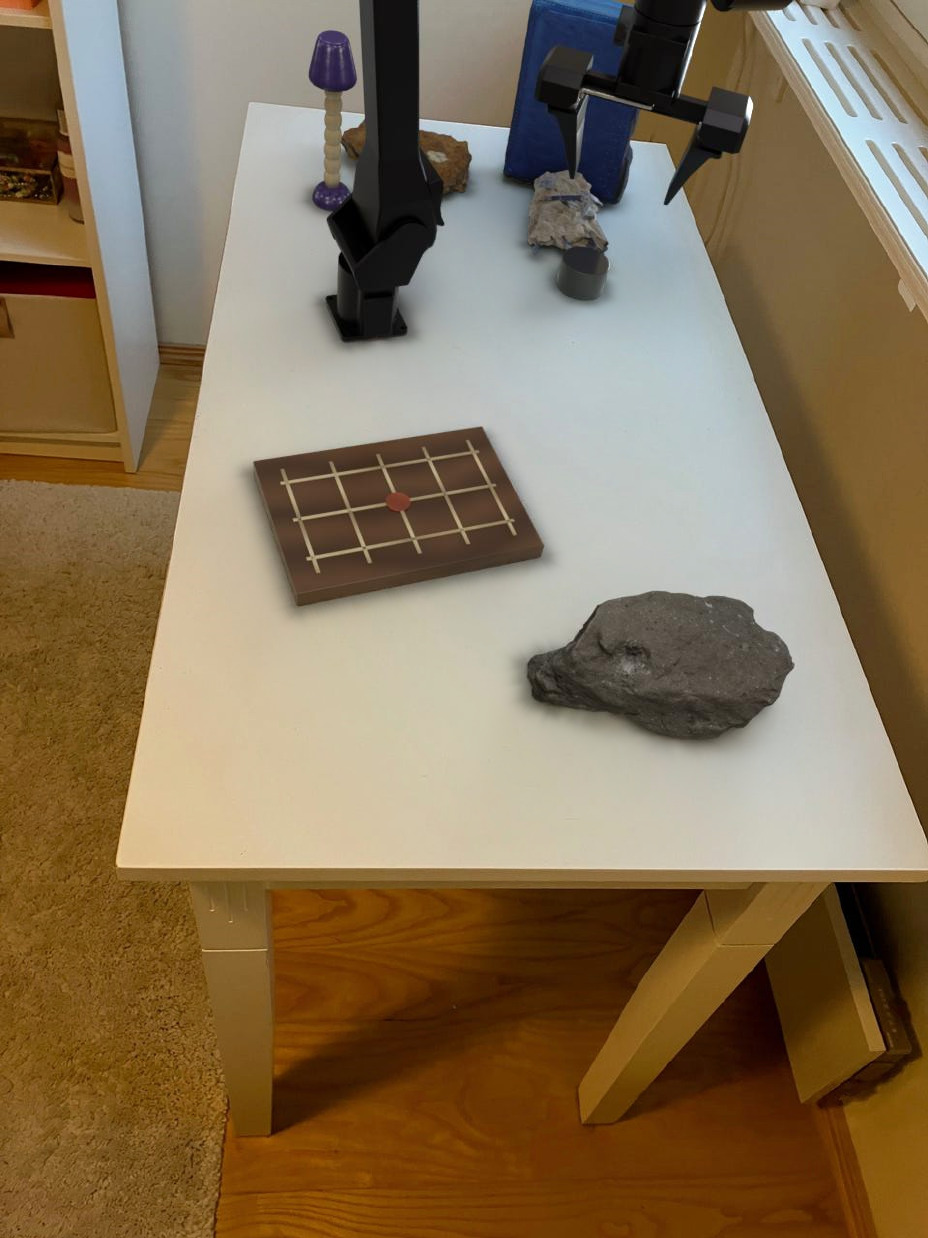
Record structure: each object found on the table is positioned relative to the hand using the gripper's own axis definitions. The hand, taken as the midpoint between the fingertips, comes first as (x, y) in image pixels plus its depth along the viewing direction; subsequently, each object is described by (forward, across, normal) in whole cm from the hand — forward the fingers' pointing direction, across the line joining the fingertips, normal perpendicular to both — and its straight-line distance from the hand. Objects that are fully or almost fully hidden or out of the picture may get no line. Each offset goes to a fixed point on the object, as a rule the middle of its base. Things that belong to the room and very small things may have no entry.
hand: (619, 189), depth 91 cm
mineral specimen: (+12, +5, -9) cm, 16 cm away
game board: (+11, +9, +38) cm, 41 cm away
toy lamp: (+11, +30, -2) cm, 32 cm away
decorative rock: (+11, +25, -12) cm, 30 cm away
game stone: (+11, +1, 0) cm, 11 cm away
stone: (+11, -14, +48) cm, 51 cm away
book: (+11, +7, -18) cm, 22 cm away
